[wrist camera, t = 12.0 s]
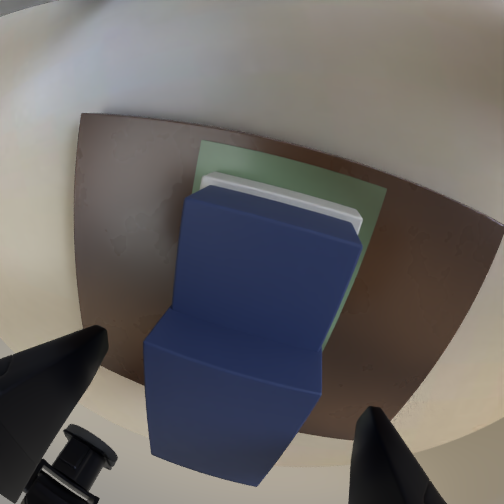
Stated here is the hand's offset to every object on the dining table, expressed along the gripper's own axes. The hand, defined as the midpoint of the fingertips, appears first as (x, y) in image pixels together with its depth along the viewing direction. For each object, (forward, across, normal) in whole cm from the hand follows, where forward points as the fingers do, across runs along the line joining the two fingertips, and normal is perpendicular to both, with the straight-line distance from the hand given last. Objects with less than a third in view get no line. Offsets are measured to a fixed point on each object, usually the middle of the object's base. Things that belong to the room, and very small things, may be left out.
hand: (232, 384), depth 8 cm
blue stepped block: (+4, 0, 0) cm, 4 cm away
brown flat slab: (+5, 0, 0) cm, 5 cm away
